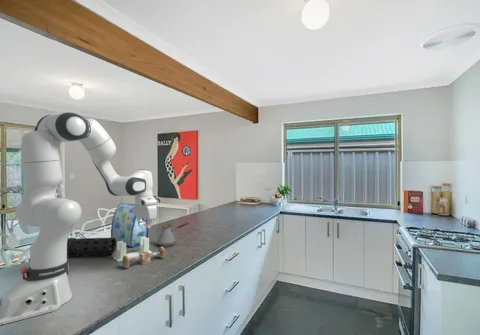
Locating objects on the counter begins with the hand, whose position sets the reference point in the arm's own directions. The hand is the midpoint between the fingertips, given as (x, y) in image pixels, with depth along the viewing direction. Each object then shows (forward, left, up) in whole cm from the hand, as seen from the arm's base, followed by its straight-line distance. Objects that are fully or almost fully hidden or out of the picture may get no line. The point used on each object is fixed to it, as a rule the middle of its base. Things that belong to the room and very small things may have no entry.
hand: (144, 226), depth 132 cm
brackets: (0, +15, -19) cm, 24 cm away
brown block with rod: (0, 0, -19) cm, 19 cm away
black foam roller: (-18, +34, -20) cm, 43 cm away
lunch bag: (+9, +42, -19) cm, 47 cm away
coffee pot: (+26, +15, -19) cm, 36 cm away
